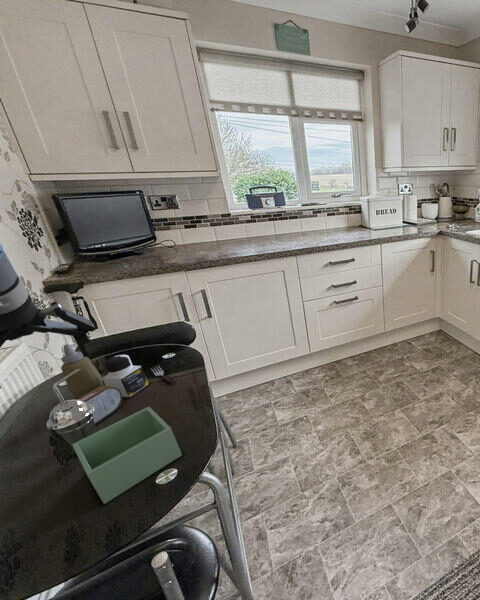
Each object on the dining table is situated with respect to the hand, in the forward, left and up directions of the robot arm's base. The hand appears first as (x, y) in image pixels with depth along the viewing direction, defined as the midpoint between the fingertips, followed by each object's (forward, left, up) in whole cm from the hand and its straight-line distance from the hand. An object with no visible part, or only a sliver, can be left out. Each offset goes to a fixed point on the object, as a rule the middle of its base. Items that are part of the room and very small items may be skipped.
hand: (43, 367), depth 70 cm
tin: (-17, +4, -25) cm, 31 cm away
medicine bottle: (-27, +14, -25) cm, 39 cm away
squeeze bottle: (-37, +6, -25) cm, 45 cm away
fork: (-25, +23, -25) cm, 42 cm away
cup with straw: (-5, 0, -25) cm, 26 cm away
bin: (+12, +5, -25) cm, 29 cm away
